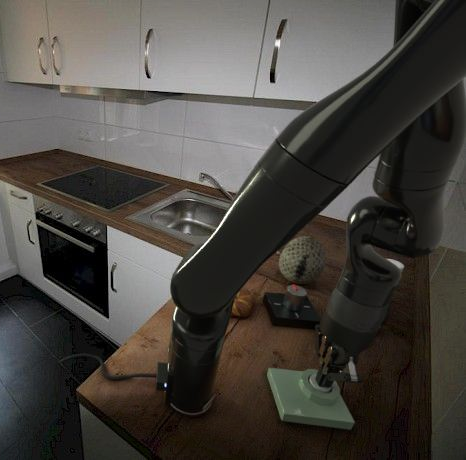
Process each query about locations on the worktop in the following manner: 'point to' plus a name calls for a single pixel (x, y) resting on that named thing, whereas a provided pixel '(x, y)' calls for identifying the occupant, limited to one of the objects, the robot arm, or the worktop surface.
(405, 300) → the worktop surface
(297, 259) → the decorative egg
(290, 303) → the lock dial
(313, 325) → the lock panel
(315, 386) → the push button
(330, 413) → the push button base
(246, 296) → the croissant
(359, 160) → the robot arm
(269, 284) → the worktop surface
